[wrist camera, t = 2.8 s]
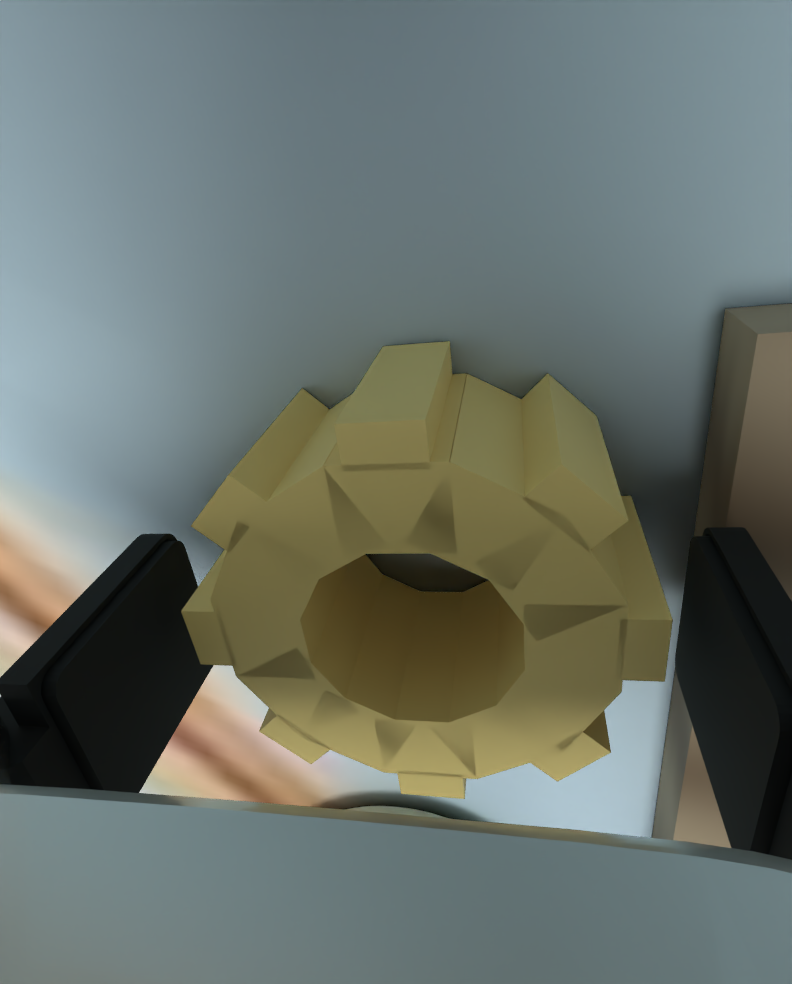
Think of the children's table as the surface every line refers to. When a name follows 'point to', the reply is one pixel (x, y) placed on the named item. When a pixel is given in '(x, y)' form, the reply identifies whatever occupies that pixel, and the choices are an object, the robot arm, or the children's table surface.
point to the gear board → (735, 523)
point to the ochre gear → (432, 615)
